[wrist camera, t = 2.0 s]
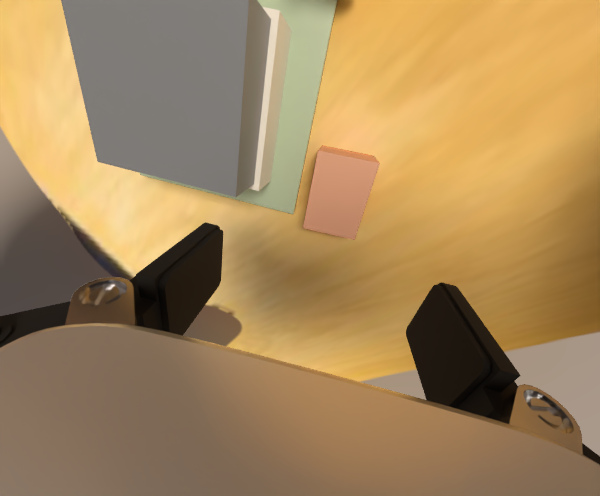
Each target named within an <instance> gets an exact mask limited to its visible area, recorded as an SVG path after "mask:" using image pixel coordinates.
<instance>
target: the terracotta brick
mask: <svg viewBox="0 0 600 496" xmlns="http://www.w3.org/2000/svg"><path fill="white" fill-rule="evenodd" d="M379 164H380V163H379V162H378V161H377V159H376V158H375V157H374V156H372V155H367V154H362V153H357V152H352V151H347V150H342V149H337V148H333V147H328V146H323V145H322V147H321V148H320V149H319V150H318V153H317V158H316V163H315V168H314V174H313V179H312V184H311V189H310V194H309V199H308V205H307V210H306V215H305V220H304V225H303V228H304V229H309V230H313V231H318V232H322V233H326V234H331V235H335V236H339V237H344V238H348V239H353V240H355V237H356V234H357V231H358V228H359V225H360V222H361V219H362V216H363V213H364V210H365V207H366V203H367V200H368V197H369V194H370V191H371V188H372V185H373V182H374V179H375V176H376V173H377V170H378V167H379Z"/></svg>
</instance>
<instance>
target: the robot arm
mask: <svg viewBox="0 0 600 496" xmlns="http://www.w3.org/2000/svg"><path fill="white" fill-rule="evenodd" d="M222 247H223V231H222V230H220V228H219V226H217V225H213V224H209V223H204V224H202V225H201V226H200V227H198V228H197V229H196V230H194V231H193V232H192V233H190V234H189V235H188V236H186V237H185V238H184V239H182V240H181V241H180V242H178V243H177V244H176V245H174V246H173V247H172V248H170V249H169V250H168V251H166V252H165V253H164V254H162V255H161V256H160V257H158V258H157V259H156V260H155V261H153V262H152V263H151V264H149V265H148V266H147V267H145V268H144V269H143V270H141V271H140V272H139V273H137V274H136V276H135V277H134V278H133V279H131V280H130V281H129V280H127V279H124V278H119V277H106V278H101V279H96V280H94V281H91V282H88V283H86V284H85V285H83V286H81V287H79V288H78V289H77V290H76V291H75V292H74V293H73V295H72V297H71V301H70V302H66V303H61V304H56V305H51V306H47V307H42V308H37V309H33V310H28V311H23V312H19V313H15V314H9V315H5V316H0V496H600V457H599V456H598V455H597V454H596V453H594V452H593V451H592V450H590V449H589V448H588V447H587V446H585V445H584V444H583V443H582V435H581V431H580V427H579V426H578V424H577V422H576V421H575V419H574V418H573V417H572V415H571V414H570V413H569V412H568V411H567V410H566V409H565V408H564V407H563V406H562V405H561V404H560V403H559V402H558V401H556V400H555V399H553V398H552V397H551V396H550V395H548V394H547V393H545V392H543V391H542V390H540V389H538V388H535V387H533V386H530V385H525V384H524V385H520V386H517V385H516V383H515V382H514V381H515V380H516V379H517V378H518V377H519V376H520V374H519V373H518V371H517V370H516V369H515V367H514V366H513V365H512V363H511V362H510V360H509V359H508V357H507V356H506V355H505V353H504V352H503V350H502V349H501V348H500V346H499V345H498V343H497V342H496V341H495V339H494V338H493V336H492V335H491V334H490V332H489V331H488V329H487V328H486V327H485V325H484V324H483V322H482V321H481V320H480V318H479V317H478V315H477V314H476V313H475V311H474V310H473V308H472V307H471V306H470V304H469V303H468V302H467V300H466V299H465V297H464V296H463V295H462V293H461V292H460V290H459V289H458V288H457V287H456V286H453V285H449V284H445V283H439V284H438V285H434V286H433V287H432V289H431V290H430V292H429V294H428V295H427V297H426V298H425V300H424V302H423V303H422V305H421V306H420V308H419V310H418V311H417V313H416V314H415V316H414V318H413V319H412V321H411V322H410V324H409V325H408V327H407V330H406V336H407V339H408V342H409V346H410V349H411V352H412V355H413V358H414V361H415V365H416V368H417V371H418V374H419V377H420V380H421V383H422V387H423V390H424V393H425V396H426V399H427V400H423V399H420V398H416V397H412V396H409V395H405V394H402V393H398V392H394V391H391V390H387V389H383V388H380V387H376V386H372V385H368V384H365V383H361V382H358V381H354V380H350V379H346V378H343V377H339V376H335V375H332V374H328V373H324V372H320V371H317V370H313V369H309V368H305V367H302V366H298V365H294V364H290V363H287V362H283V361H279V360H275V359H271V358H268V357H264V356H260V355H256V354H252V353H249V352H245V351H241V350H237V349H233V348H230V347H226V346H222V345H218V344H214V343H210V342H206V341H202V340H198V339H194V338H189V337H186V336H183V334H184V333H185V332H186V330H187V329H188V327H189V326H190V324H191V323H192V322H193V321H194V319H195V318H196V316H197V315H198V314H199V312H200V311H201V310H202V308H203V307H204V305H205V304H206V303H207V301H208V300H209V299H210V297H211V296H212V295H213V293H214V292H215V290H216V289H217V288H218V286H219V284H220V281H221V268H222Z"/></svg>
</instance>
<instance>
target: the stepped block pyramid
mask: <svg viewBox="0 0 600 496" xmlns="http://www.w3.org/2000/svg"><path fill="white" fill-rule="evenodd" d="M61 1H62V6H63V10H64V15H65V19H66V24H67V28H68V32H69V37H70V41H71V46H72V50H73V55H74V59H75V63H76V68H77V72H78V77H79V81H80V85H81V90H82V94H83V99H84V103H85V108H86V112H87V116H88V121H89V125H90V130H91V134H92V139H93V143H94V147H95V152H96V156H97V161H98V162H101V163H105V164H109V165H113V166H117V167H120V168H124V169H128V170H132V171H136V172H140V175H143V176H147V177H150V178H154V179H158V180H162V181H166V182H170V183H174V184H178V185H181V186H185V187H189V188H193V189H197V190H201V191H205V192H209V193H212V194H216V195H220V196H224V197H228V198H232V199H236V200H240V201H243V202H247V203H251V204H255V205H259V206H263V207H267V208H271V209H274V210H278V211H282V212H286V213H290V214H294V211H295V206H296V201H297V197H298V192H299V187H300V182H301V177H302V172H303V167H304V162H305V157H306V152H307V148H308V143H309V138H310V133H311V128H312V123H313V118H314V113H315V108H316V104H317V99H318V94H319V89H320V84H321V79H322V74H323V69H324V64H325V60H326V55H327V50H328V45H329V40H330V35H331V30H332V25H333V20H334V16H335V11H336V6H337V1H338V0H61Z"/></svg>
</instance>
